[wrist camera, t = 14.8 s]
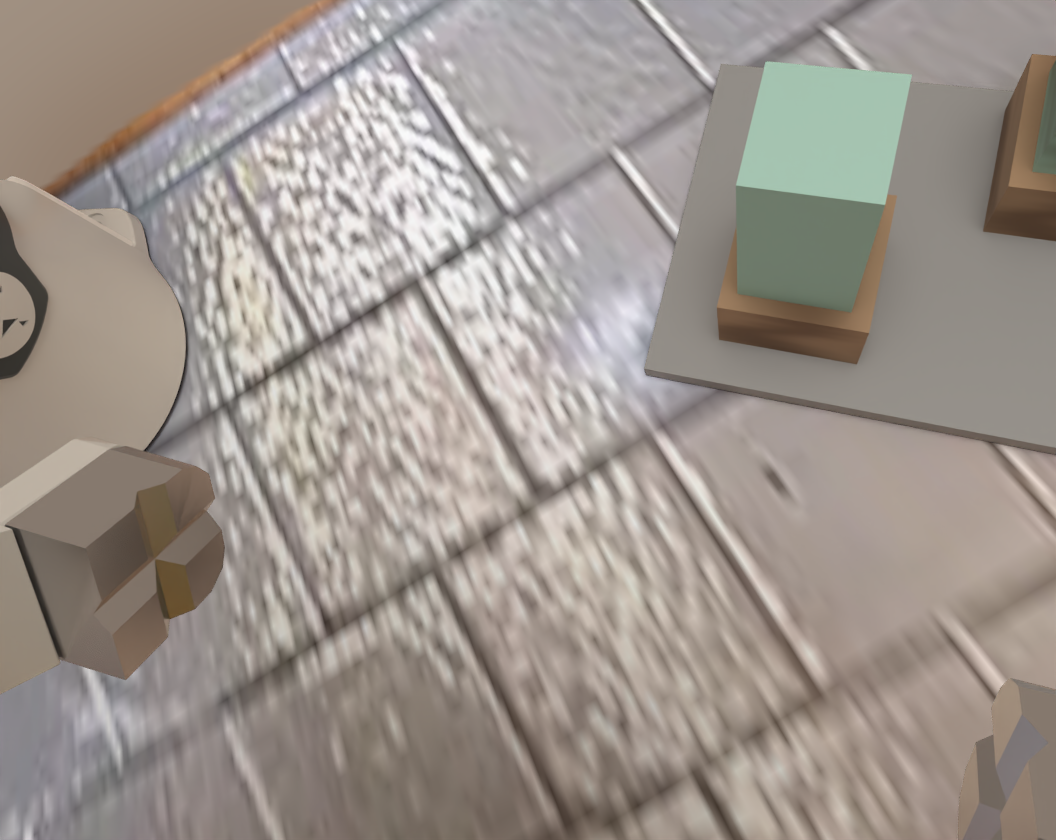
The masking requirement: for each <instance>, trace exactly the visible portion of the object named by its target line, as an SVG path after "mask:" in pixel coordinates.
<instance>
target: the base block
mask: <svg viewBox="0 0 1056 840" xmlns="http://www.w3.org/2000/svg"><path fill="white" fill-rule="evenodd" d="M896 199H897V195H889V194H887V199H886V204H885V207H884V210H883V214H882V217H881V220H880V223H879V226H878V229H877V233H876V236H875V239H874V242H873V245H872V248H871V252H870V255H869V258H868V261H867V264H866V267H865V271H864V274H863V277H862V280H861V283H860V286H859V290H858V293H857V296H856V299H855V302H854V305H853V309H852V312H845V311H839V310H833V309H826V308H820V307H814V306H808V305H802V304H796V303H790V302H784V301H777V300H771V299H765V298H759V297H753V296H747V295H741V294H737V228H736V229H735V233H734V237H733V242H732V246H731V250H730V254H729V258H728V262H727V267H726V271H725V275H724V279H723V283H722V287H721V292H720V296H719V300H718V304H717V318H718V331H719V340H723V341H729V342H735V343H740V344H746V345H751V346H757V347H763V348H768V349H774V350H779V351H785V352H790V353H796V354H802V355H807V356H813V357H818V358H824V359H830V360H835V361H841V362H846V363H852V364H857V363H858V360H859V358H860V355H861V353H862V350H863V348H864V345H865V342H866V340H867V337H868V335H869V331H870V326H871V321H872V317H873V312H874V307H875V302H876V297H877V292H878V287H879V282H880V277H881V272H882V268H883V263H884V258H885V253H886V248H887V243H888V238H889V233H890V228H891V223H892V218H893V214H894V209H895V204H896Z"/></svg>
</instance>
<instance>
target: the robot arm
mask: <svg viewBox="0 0 1056 840" xmlns="http://www.w3.org/2000/svg"><path fill="white" fill-rule="evenodd" d="M185 351H186V337H185V328H184V322H183V317H182V313H181V310H180V307H179V304H178V301H177V299H176V297H175V295H174V293H173V291H172V289H171V288H170V286H169V285H168V283H167V282H166V280H165V279H164V278H163V277H162V275H161V274H160V273H159V272H158V270H157V269H156V268H155V266H154V265H153V263H152V262H151V260H150V258H149V254H148V248H147V243H146V238H145V234H144V230H143V227H142V224H141V222H140V221H139V219H138V218H137V217H136V216H134V215H132V214H130V213H128V212H126V211H125V210H123V209H119V208H105V209H84V210H77V209H75V208H73V207H72V206H70V205H68V204H66V203H65V202H63V201H61V200H59V199H58V198H56V197H54V196H52V195H51V194H49V193H47V192H46V191H44V190H42V189H40V188H38V187H37V186H35V185H33V184H31V183H30V182H28V181H26V180H24V179H21V178H18V177H15V176H11V177H9V178H7V179H6V180H1V179H0V694H2V693H4V692H6V691H8V690H10V689H12V688H14V687H16V686H17V685H19V684H21V683H23V682H25V681H27V680H29V679H31V678H33V677H35V676H37V675H39V674H41V673H43V672H45V671H47V670H49V669H51V668H53V667H55V666H57V665H59V664H60V663H61V662H60V660H63V661H67V662H70V663H73V664H76V665H79V666H83V667H86V668H89V669H92V670H95V671H98V672H102V673H105V674H108V675H111V676H114V677H118V678H121V679H124V680H126V679H127V678H128V677H129V676H130V675H131V674H132V673H133V672H134V671H135V670H136V669H137V668H138V667H139V666H140V665H141V664H142V663H143V662H144V661H145V660H146V659H147V658H148V657H149V656H150V655H151V654H152V653H153V652H154V651H155V650H156V649H157V648H158V647H159V646H160V645H161V644H162V643H163V642H164V641H165V640H166V639H167V637H168V633H169V623H170V619H172V618H174V617H177V616H179V615H182V614H184V613H187V612H189V611H192V610H194V609H196V607H197V606H198V605H199V604H200V603H201V602H202V601H203V600H204V599H205V598H206V597H207V596H208V594H209V593H210V592H211V591H212V589H213V587H214V585H215V583H216V581H217V578H218V576H219V574H220V572H221V570H222V568H223V559H224V549H225V546H224V541H223V536H222V530H221V529H220V527H219V526H218V525H217V523H216V522H215V521H214V519H213V518H212V517H211V516H210V514H209V513H208V512H207V510H208V508H209V507H210V505H211V504H212V502H213V501H214V499H215V496H214V492H213V488H212V484H211V480H210V476H209V474H208V473H207V472H205V471H203V470H202V469H200V468H198V467H197V466H194V465H190V464H187V463H183V462H180V461H176V460H173V459H169V458H166V457H163V456H159V455H156V454H152V453H149V452H145V451H143V450H144V449H145V448H146V447H147V446H148V445H149V443H150V442H151V441H152V440H153V438H154V437H155V435H156V434H157V432H158V431H159V429H160V428H161V426H162V425H163V423H164V421H165V419H166V418H167V416H168V414H169V412H170V410H171V407H172V405H173V403H174V400H175V398H176V395H177V392H178V389H179V386H180V383H181V379H182V375H183V369H184V363H185ZM59 659H60V660H59ZM991 714H992V726H993V735H991V736H989V737H987V738H984V739H982V740H980V741H978V742H976V743H975V746H974V748H973V751H972V753H971V756H970V758H969V761H968V763H967V766H966V769H965V773H964V778H963V783H962V787H961V792H960V797H959V809H958V840H1056V689H1052V688H1048V687H1044V686H1040V685H1036V684H1032V683H1028V682H1024V681H1020V680H1016V679H1012V678H1009V679H1008V680H1007V681H1006V682H1005V683H1004V684H1003V685H1002V687H1001V688H1000V690H999V692H998V694H997V696H996V698H995V701H994V703H993V705H992V707H991Z"/></svg>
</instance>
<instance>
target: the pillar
mask: <svg viewBox="0 0 1056 840" xmlns="http://www.w3.org/2000/svg"><path fill="white" fill-rule="evenodd" d="M911 77H912V75H910V74H899V73H888V72H877V71H866V70H855V69H844V68H833V67H822V66H811V65H800V64H789V63H778V62H767V61H766V63H765V67H764V71H763V75H762V79H761V84H760V88H759V92H758V96H757V100H756V104H755V108H754V113H753V117H752V121H751V125H750V129H749V133H748V137H747V142H746V146H745V150H744V154H743V158H742V162H741V166H740V171H739V175H738V179H737V183H736V228H737V294H741V295H747V296H753V297H759V298H765V299H771V300H777V301H784V302H790V303H796V304H802V305H808V306H814V307H820V308H826V309H833V310H839V311H845V312H852V309H853V305H854V302H855V299H856V296H857V293H858V290H859V286H860V283H861V280H862V277H863V274H864V271H865V267H866V264H867V261H868V258H869V255H870V252H871V248H872V245H873V242H874V239H875V236H876V233H877V229H878V226H879V223H880V220H881V217H882V214H883V210H884V207H885V204H886V199H887V194H888V189H889V184H890V179H891V174H892V170H893V165H894V160H895V155H896V150H897V145H898V140H899V135H900V131H901V126H902V121H903V116H904V111H905V106H906V101H907V97H908V92H909V87H910V82H911Z"/></svg>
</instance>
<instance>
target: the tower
mask: <svg viewBox="0 0 1056 840" xmlns="http://www.w3.org/2000/svg"><path fill="white" fill-rule="evenodd" d="M983 232H990V233H997V234H1005V235H1012V236H1020V237H1027V238H1034V239H1042V240H1049V241H1056V56H1049V55H1037V54H1032V55H1031V57H1030V59H1029V62H1028V64H1027V66H1026V68H1025V70H1024V72H1023V74H1022V76H1021V78H1020V80H1019V82H1018V84H1017V87H1016V89H1015V91H1014V93H1013V95H1012V97H1011V99H1010V101H1009V103H1008V105H1007V107H1006V109H1005V113H1004V119H1003V124H1002V130H1001V135H1000V141H999V146H998V152H997V157H996V163H995V168H994V174H993V179H992V185H991V190H990V196H989V201H988V207H987V212H986V217H985V223H984V228H983Z"/></svg>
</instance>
